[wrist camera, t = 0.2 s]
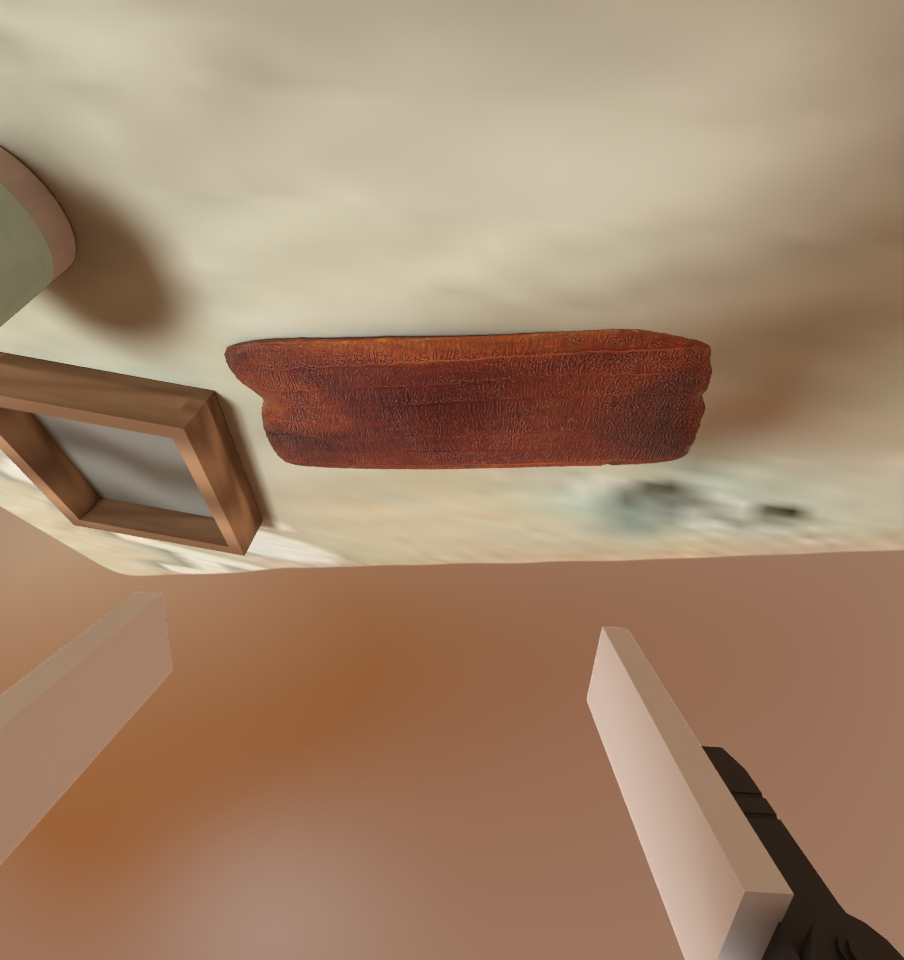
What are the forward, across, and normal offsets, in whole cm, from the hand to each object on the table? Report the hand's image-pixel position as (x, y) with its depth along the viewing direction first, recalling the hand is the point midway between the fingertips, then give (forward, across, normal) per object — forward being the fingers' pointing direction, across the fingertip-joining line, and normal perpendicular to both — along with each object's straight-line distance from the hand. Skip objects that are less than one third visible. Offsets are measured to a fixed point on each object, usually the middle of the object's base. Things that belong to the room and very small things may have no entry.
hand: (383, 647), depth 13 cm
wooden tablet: (+15, +2, +6) cm, 16 cm away
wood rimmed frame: (+20, -20, 0) cm, 29 cm away
